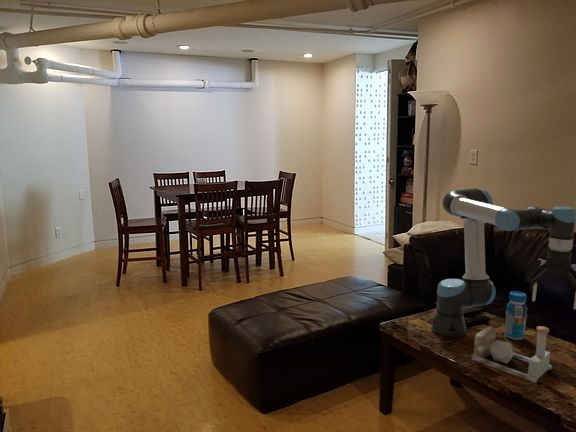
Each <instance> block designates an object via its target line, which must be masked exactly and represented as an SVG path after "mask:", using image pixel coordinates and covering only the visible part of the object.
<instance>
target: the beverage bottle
mask: <svg viewBox="0 0 576 432" xmlns="http://www.w3.org/2000/svg"><path fill="white" fill-rule="evenodd" d="M508 299H509V302H508V303H507V305H506V310H505V323H504V324H505V326H504V333H503V334H504V336H505V337H507V338H509V339H511V340H515V341H516V340H523V339H525V332H526V321H527V318H528V314H527V312H528V308H527V305H526V302H527V294H526V293H525V292H522V291H516V290H515V291H514V290H513V291H510V292H509V297H508Z"/></svg>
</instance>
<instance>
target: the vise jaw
mask: <svg viewBox="0 0 576 432" xmlns="http://www.w3.org/2000/svg"><path fill="white" fill-rule="evenodd" d="M536 332H537V338H536V346H535V347H536V348H535V355H533V356H532V357H531V359H530V360H529V363H528V369H527V370H528V371H527V375H530V376H533V377H536V378H538V379H539V378H541V376H543V375H544V374H545V373H546V372H547V371H549V370H548V369H549V365H550V359H551V352H550V351H547V350H546V347H547V346H546V345H547V338H548V337H547V336H548V333H549V332H550V328H548V327H546V326H542V325H541V326H540V325H539V326H536Z"/></svg>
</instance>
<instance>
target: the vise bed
mask: <svg viewBox="0 0 576 432" xmlns="http://www.w3.org/2000/svg"><path fill="white" fill-rule="evenodd" d="M496 333H497V328H496V327H495V328H494V327H492V326H487V327H486V328H484V329H483V330H481V331H479V332H477V333H476V334H475V335H474V346H473V354H472V355H471V360H473V361H475V362H478V363H480V364H483V365H485V366H486V365H487V366H488V367H492V368H493V369H497V370H499V371H502V372H505V373H508V374H510V375H512V376H516V377H519V378H521V379H524V380H526V381H530V382H531V383H534V384H537V383H538V379H539V378H536V377H533V376H530V375H528V373H525V372H522V371H519V370H516V369H514V368H511V367H508V366H505V365H504V364H503V365H502V364H499V363H497V362H495V361H492V360H489V359H487V358H486V357H488V356H490V355H492V354H491V352H490V348H491V347H492V345H493V344H494V343H495V342H496V336H497V335H496ZM513 353H514V355H513V357H512V358H515V359H517V360H520V361H522V362H524V363H528V364H529V360H530V359H531V358H532V357H531V358H530V357H528V356H525V355H522V354H519V353H516V352H513ZM552 367H553V365H551V364H549V369H548V370H547V371H551V370H552Z"/></svg>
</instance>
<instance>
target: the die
mask: <svg viewBox="0 0 576 432" xmlns="http://www.w3.org/2000/svg"><path fill="white" fill-rule="evenodd" d="M490 352H491V354H490V355H491V358H492V360H493V362H498V363H501V364H505V365H507V364H509V362H510V361H511V359H512V358H514V357H513V355H514V353H515V352H514V350H513V347H512V344H511V342H507V341H503V340H499V339H495V343H494V344H493V345H492V347H491V348H490Z"/></svg>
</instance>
